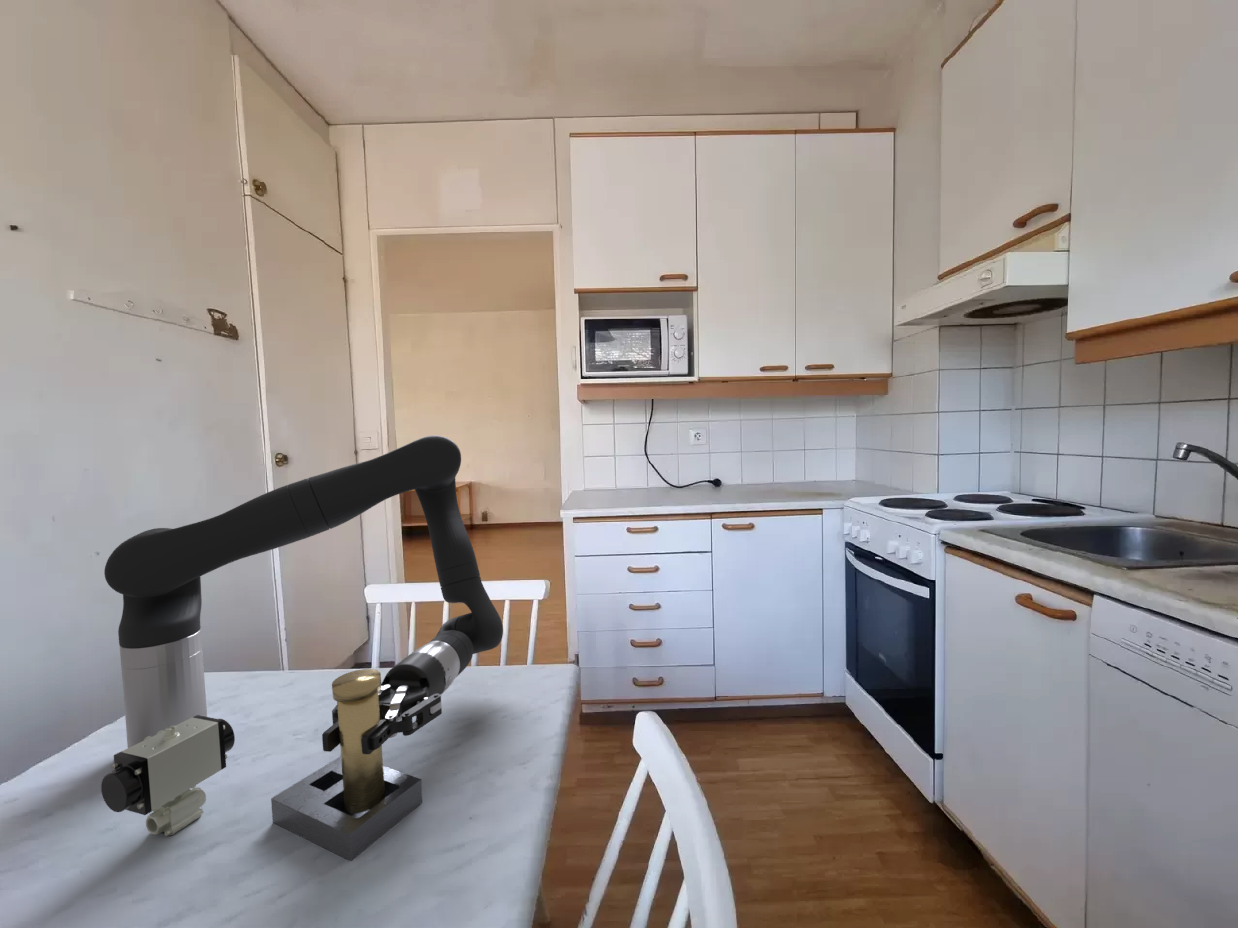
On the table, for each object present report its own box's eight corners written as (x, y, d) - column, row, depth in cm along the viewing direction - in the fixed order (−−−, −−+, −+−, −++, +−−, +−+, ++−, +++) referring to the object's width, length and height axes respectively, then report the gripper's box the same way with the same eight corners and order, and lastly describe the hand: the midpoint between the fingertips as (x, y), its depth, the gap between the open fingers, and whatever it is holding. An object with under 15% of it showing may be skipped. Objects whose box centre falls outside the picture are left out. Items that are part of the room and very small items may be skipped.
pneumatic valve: (240, 795, 68) (233, 705, 68) (133, 865, 57) (124, 759, 57) (209, 787, 70) (203, 700, 69) (100, 854, 59) (91, 751, 58)
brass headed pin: (331, 807, 62) (321, 684, 61) (369, 780, 67) (361, 666, 66) (360, 820, 60) (351, 693, 59) (398, 791, 65) (390, 673, 64)
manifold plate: (272, 822, 63) (271, 798, 63) (348, 773, 72) (346, 752, 72) (350, 860, 57) (348, 834, 57) (422, 802, 66) (421, 779, 66)
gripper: (377, 649, 78) (287, 710, 61) (468, 652, 76) (400, 716, 59) (380, 698, 78) (292, 772, 62) (470, 703, 76) (404, 781, 59)
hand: (345, 744), depth 60 cm, fingers closed on brass headed pin, 4 cm apart
